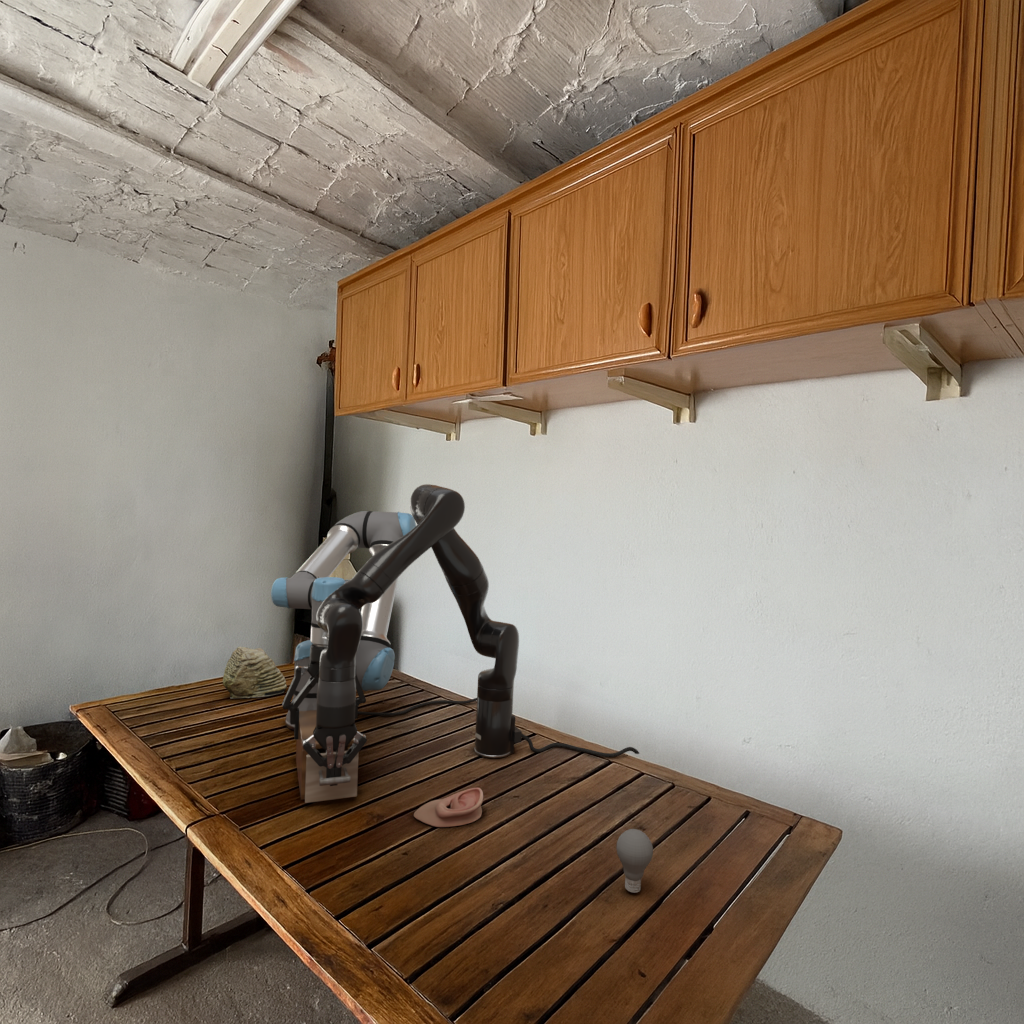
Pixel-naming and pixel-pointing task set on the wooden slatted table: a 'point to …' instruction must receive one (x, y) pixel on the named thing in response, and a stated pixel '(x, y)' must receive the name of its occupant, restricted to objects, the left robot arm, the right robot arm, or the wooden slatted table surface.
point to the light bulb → (634, 857)
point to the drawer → (330, 780)
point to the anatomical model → (452, 809)
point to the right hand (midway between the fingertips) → (333, 784)
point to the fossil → (252, 674)
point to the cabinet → (305, 731)
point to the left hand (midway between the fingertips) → (323, 735)
